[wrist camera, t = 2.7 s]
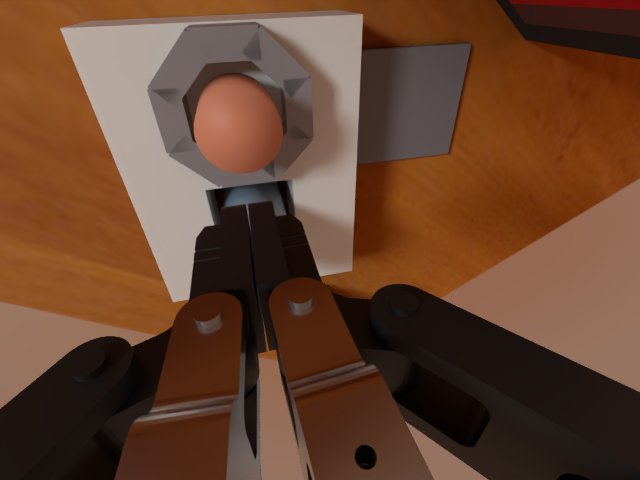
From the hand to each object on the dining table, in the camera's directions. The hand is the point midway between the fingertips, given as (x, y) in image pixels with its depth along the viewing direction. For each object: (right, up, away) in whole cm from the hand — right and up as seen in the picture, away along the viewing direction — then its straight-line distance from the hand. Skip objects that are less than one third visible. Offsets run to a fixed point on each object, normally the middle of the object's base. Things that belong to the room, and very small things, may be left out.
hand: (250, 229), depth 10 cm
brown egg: (-3, +7, +10) cm, 12 cm away
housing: (-4, +6, +18) cm, 19 cm away
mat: (+10, +11, +18) cm, 23 cm away
